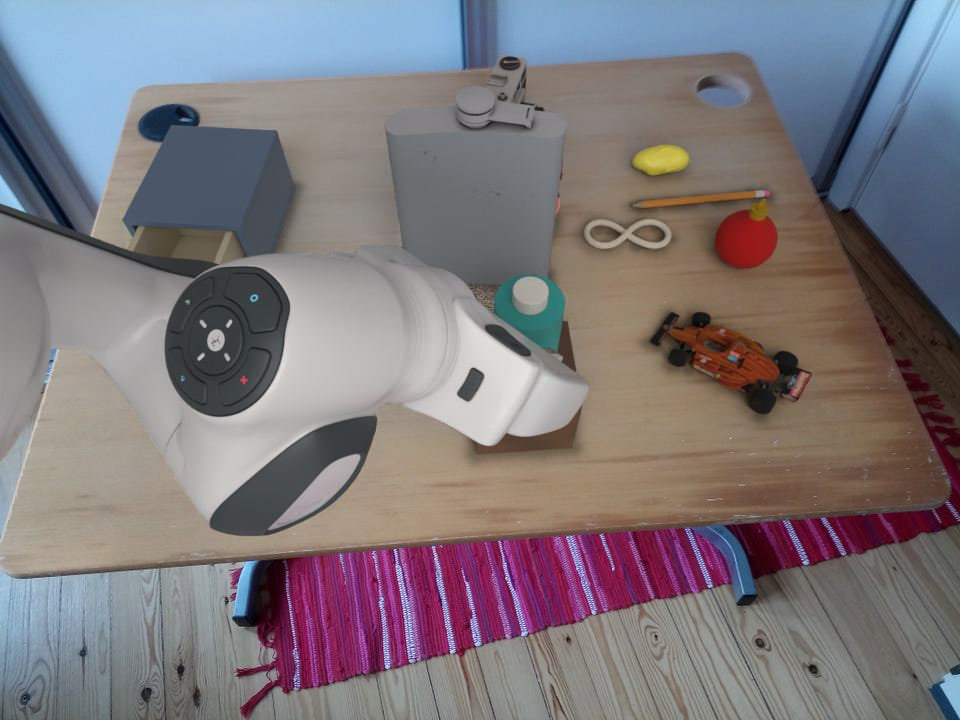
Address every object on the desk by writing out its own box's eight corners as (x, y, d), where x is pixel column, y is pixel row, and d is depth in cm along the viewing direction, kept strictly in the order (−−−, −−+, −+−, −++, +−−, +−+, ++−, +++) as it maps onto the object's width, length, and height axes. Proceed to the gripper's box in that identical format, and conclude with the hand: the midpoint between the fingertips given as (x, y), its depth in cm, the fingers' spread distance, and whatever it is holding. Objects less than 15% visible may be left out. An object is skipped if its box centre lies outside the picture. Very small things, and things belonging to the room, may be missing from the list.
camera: (522, 184, 91) (523, 121, 83) (462, 168, 94) (457, 106, 85) (557, 124, 98) (561, 61, 90) (500, 111, 101) (499, 48, 92)
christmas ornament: (727, 229, 87) (753, 169, 78) (776, 258, 84) (808, 199, 76) (696, 259, 84) (720, 200, 76) (745, 290, 81) (775, 232, 73)
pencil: (766, 190, 90) (628, 203, 89) (770, 188, 89) (630, 201, 88) (767, 197, 90) (629, 210, 89) (771, 195, 89) (631, 208, 88)
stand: (476, 454, 70) (476, 413, 62) (470, 373, 75) (469, 326, 67) (572, 448, 70) (582, 406, 62) (559, 367, 75) (567, 320, 68)
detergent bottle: (524, 403, 63) (532, 331, 53) (480, 364, 65) (479, 289, 55) (567, 365, 65) (582, 290, 55) (523, 329, 67) (529, 251, 58)
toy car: (674, 307, 80) (683, 284, 76) (807, 377, 74) (824, 355, 71) (642, 351, 77) (650, 328, 73) (779, 427, 71) (795, 407, 67)
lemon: (689, 179, 92) (697, 157, 89) (631, 181, 92) (637, 158, 89) (683, 159, 94) (690, 136, 91) (626, 160, 94) (632, 138, 91)
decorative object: (581, 222, 87) (585, 251, 84) (582, 216, 86) (586, 245, 84) (666, 222, 88) (673, 250, 85) (668, 216, 87) (675, 245, 84)
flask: (547, 261, 84) (568, 84, 63) (547, 290, 81) (569, 115, 61) (409, 258, 84) (384, 80, 63) (405, 286, 82) (378, 111, 61)
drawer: (222, 378, 74) (197, 337, 67) (113, 370, 74) (78, 329, 68) (269, 241, 85) (251, 195, 78) (174, 236, 85) (148, 189, 79)
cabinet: (264, 282, 82) (240, 226, 74) (156, 275, 83) (121, 220, 75) (295, 188, 91) (277, 130, 83) (198, 183, 92) (171, 124, 84)
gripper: (296, 290, 49) (405, 295, 61) (506, 464, 41) (584, 430, 53) (330, 213, 47) (436, 234, 59) (557, 381, 39) (626, 365, 51)
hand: (508, 328), depth 56 cm, fingers open, 8 cm apart
